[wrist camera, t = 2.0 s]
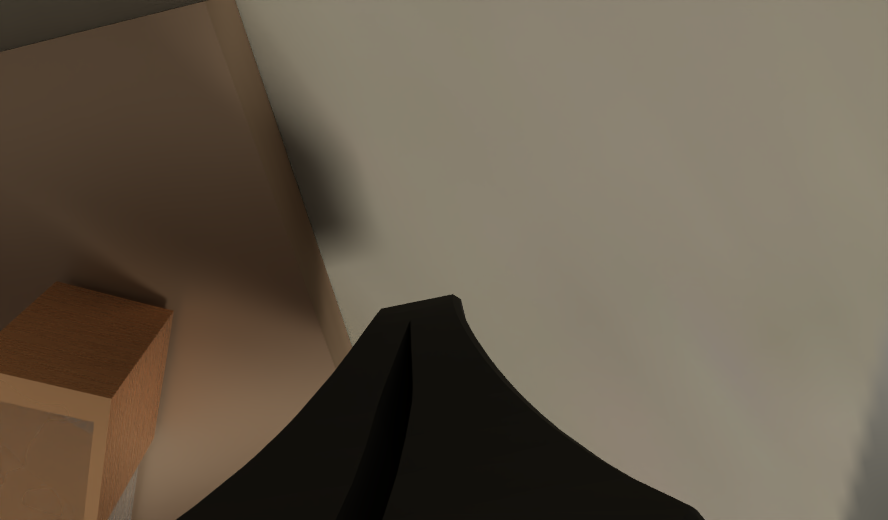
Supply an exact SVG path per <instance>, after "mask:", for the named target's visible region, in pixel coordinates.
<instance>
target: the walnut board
mask: <svg viewBox="0 0 888 520" xmlns="http://www.w3.org/2000/svg"><path fill="white" fill-rule="evenodd" d="M56 281H58V282H62V283H66V284H70V285H74V286H78V287H82V288H86V289H90V290H94V291H98V292H102V293H106V294H110V295H114V296H118V297H122V298H126V299H130V300H134V301H138V302H142V303H146V304H150V305H154V306H158V307H162V308H166V309H170V310H174V314H173V320H172V326H171V333H170V339H169V345H168V352H167V358H166V364H165V371H164V377H163V384H162V390H161V396H160V403H159V409H158V415H157V422H156V428H155V434H154V439H153V441H152V442H151V444H150V446H149V448H148V449H147V451H146V453H145V455H144V457H143V458H142V460H141V462H140V464H139V469H138V476H137V482H136V489H135V496H134V503H133V509H132V516H131V520H176V519H177V518H179V517H180V516H182V515H183V514H184V513H186V512H187V511H188V510H190V509H191V508H192V507H194V506H195V505H196V504H198V503H199V502H200V501H201V500H202V499H204V498H205V497H206V496H207V495H209V494H210V493H211V492H212V491H214V490H215V489H216V488H217V487H219V486H220V485H221V484H222V483H223V482H225V481H226V480H227V479H228V478H230V477H231V476H232V475H233V474H235V473H236V472H237V471H238V470H240V469H241V468H242V467H243V466H244V465H245V464H247V463H248V462H249V461H250V460H251V459H252V458H253V457H254V456H256V455H257V454H258V453H259V452H260V451H261V450H262V449H263V448H264V447H265V446H266V445H267V444H268V443H269V442H270V441H271V440H273V439H274V438H275V437H276V436H277V435H278V434H279V433H280V432H281V431H282V430H283V429H284V428H285V427H286V426H287V425H288V424H289V423H290V422H291V420H292V419H293V418H294V417H295V416H296V415H297V414H298V413H299V412H300V411H301V409H302V408H303V407H304V406H305V405H306V404H307V403H308V401H309V400H310V399H311V398H312V397H313V396H314V394H315V393H316V392H317V391H318V390H319V389H320V387H321V386H322V385H323V384H324V383H325V382H326V380H327V379H328V378H329V377H330V376H331V375H332V373H333V372H334V371H335V369H336V368H337V367H338V366H339V364H340V363H341V362H342V360H343V359H344V358H345V356H346V355H347V354H348V352H349V351H350V350H351V349H352V345H351V342H350V339H349V336H348V333H347V331H346V328H345V325H344V322H343V319H342V316H341V313H340V310H339V307H338V304H337V301H336V298H335V295H334V292H333V289H332V286H331V283H330V280H329V277H328V274H327V271H326V268H325V265H324V262H323V259H322V257H321V254H320V251H319V248H318V245H317V242H316V239H315V236H314V233H313V230H312V227H311V224H310V221H309V218H308V215H307V212H306V209H305V206H304V203H303V200H302V197H301V194H300V191H299V188H298V185H297V183H296V180H295V177H294V174H293V171H292V168H291V165H290V162H289V159H288V156H287V153H286V150H285V147H284V144H283V141H282V138H281V135H280V132H279V129H278V126H277V123H276V120H275V117H274V114H273V111H272V108H271V106H270V103H269V100H268V97H267V94H266V91H265V88H264V85H263V82H262V79H261V76H260V73H259V70H258V67H257V64H256V61H255V58H254V55H253V52H252V49H251V46H250V43H249V40H248V37H247V34H246V32H245V29H244V26H243V23H242V20H241V17H240V14H239V11H238V8H237V5H236V2H235V0H207V1H203V2H199V3H195V4H191V5H187V6H183V7H179V8H175V9H171V10H167V11H163V12H159V13H154V14H150V15H146V16H142V17H138V18H134V19H130V20H126V21H122V22H118V23H114V24H110V25H106V26H102V27H98V28H94V29H90V30H86V31H82V32H78V33H74V34H70V35H66V36H62V37H58V38H54V39H50V40H46V41H42V42H38V43H34V44H30V45H26V46H22V47H18V48H14V49H10V50H6V51H2V52H0V331H1V330H2V329H4V328H5V327H6V326H7V325H8V324H9V323H10V322H11V321H13V320H14V319H15V318H16V317H17V316H18V315H19V314H20V313H21V312H23V311H24V310H25V309H26V308H27V307H28V306H29V305H30V304H32V303H33V302H34V301H35V300H36V299H37V298H38V297H39V296H40V295H42V294H43V293H44V292H45V291H46V290H47V289H48V288H49V287H50V286H52V285H53V284H54V283H55V282H56Z"/></svg>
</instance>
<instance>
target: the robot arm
mask: <svg viewBox="0 0 888 520" xmlns="http://www.w3.org/2000/svg"><path fill="white" fill-rule="evenodd" d="M176 520H705V519H704V518H703V517H702V516H701V515H700V513H699V512H698V511H697V510H696V509H695V508H693V507H691V506H690V505H688V504H685V503H683V502H681V501H679V500H677V499H675V498H673V497H671V496H669V495H667V494H665V493H662V492H660V491H658V490H656V489H654V488H652V487H650V486H648V485H646V484H644V483H642V482H639V481H637V480H635V479H633V478H631V477H630V476H628V475H626V474H625V473H623V472H621V471H620V470H618V469H616V468H615V467H613V466H611V465H610V464H608V463H606V462H605V461H603V460H602V459H600V458H599V457H597V456H596V455H595V454H593V453H592V452H590V451H589V450H588V449H586V448H585V447H583V446H582V445H580V444H579V443H578V442H576V441H575V440H573V439H572V438H571V437H569V436H568V435H566V434H565V433H564V432H562V431H561V430H560V429H558V428H557V427H556V426H555V425H554V424H553V423H551V422H550V421H549V420H548V419H547V418H546V417H544V416H543V415H542V414H541V413H540V412H539V411H538V410H537V409H535V408H534V407H533V406H532V405H531V404H530V403H529V402H528V401H527V400H526V399H525V398H524V397H523V396H522V395H521V394H520V393H519V392H518V391H517V390H516V389H515V388H514V387H513V385H512V384H511V383H510V382H509V381H508V380H507V379H506V378H505V376H504V375H503V374H502V373H501V372H500V370H499V369H498V368H497V367H496V366H495V364H494V363H493V362H492V360H491V359H490V358H489V356H488V355H487V353H486V352H485V351H484V349H483V348H482V346H481V345H480V343H479V342H478V340H477V339H476V337H475V336H474V334H473V332H472V331H471V329H470V327H469V325H468V323H467V321H466V318H465V314H464V310H463V306H462V302H461V299H460V298H458V297H456V296H455V295H453V294H452V295H447V296H442V297H437V298H432V299H427V300H422V301H417V302H412V303H407V304H402V305H398V306H393V307H388V308H383V309H381V310H380V311H379V312H378V313H377V315H376V316H375V317H374V319H373V320H372V321H371V323H370V324H369V325H368V327H367V328H366V330H365V331H364V332H363V334H362V335H361V336H360V338H359V339H358V341H357V342H356V343H355V345H354V346H353V347H352V349H351V350H350V351H349V352H348V354H347V355H346V356H345V358H344V359H343V360H342V362H341V363H340V364H339V366H338V367H337V368H336V369H335V371H334V372H333V373H332V375H331V376H330V377H329V378H328V379H327V380H326V382H325V383H324V384H323V385H322V386H321V387H320V389H319V390H318V391H317V392H316V393H315V394H314V396H313V397H312V398H311V399H310V400H309V401H308V403H307V404H306V405H305V406H304V407H303V408H302V409H301V411H300V412H299V413H298V414H297V415H296V416H295V417H294V418H293V419H292V420H291V422H290V423H289V424H288V425H287V426H286V427H285V428H284V429H283V430H282V431H281V432H280V433H279V434H278V435H277V436H276V437H275V438H274V439H273V440H271V441H270V442H269V443H268V444H267V445H266V446H265V447H264V448H263V449H262V450H261V451H260V452H259V453H258V454H257V455H256V456H254V457H253V458H252V459H251V460H250V461H249V462H248V463H247V464H245V465H244V466H243V467H242V468H241V469H240V470H238V471H237V472H236V473H235V474H233V475H232V476H231V477H230V478H228V479H227V480H226V481H225V482H223V483H222V484H221V485H220V486H219V487H217V488H216V489H215V490H214V491H212V492H211V493H210V494H209V495H207V496H206V497H205V498H204V499H202V500H201V501H200V502H199V503H198V504H196V505H195V506H194V507H192V508H191V509H190V510H188V511H187V512H186V513H184V514H183V515H182V516H180V517H179V518H177V519H176Z"/></svg>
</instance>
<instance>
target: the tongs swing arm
mask: <svg viewBox="0 0 888 520" xmlns="http://www.w3.org/2000/svg"><path fill="white" fill-rule="evenodd" d="M173 314H174V310H170V309H166V308H162V307H158V306H154V305H150V304H146V303H142V302H138V301H134V300H130V299H126V298H122V297H118V296H114V295H110V294H106V293H102V292H98V291H94V290H90V289H86V288H82V287H78V286H74V285H70V284H66V283H62V282H58V281H56V282H55V283H54V284H53V285H52V286H50V287H49V288H48V289H47V290H46V291H45V292H44V293H43V294H42V295H40V296H39V297H38V298H37V299H36V300H35V301H34V302H33V303H32V304H30V305H29V306H28V307H27V308H26V309H25V310H24V311H23V312H21V313H20V314H19V315H18V316H17V317H16V318H15V319H14V320H13V321H11V322H10V323H9V324H8V325H7V326H6V327H5V328H4V329H2V330H1V331H0V520H131V516H132V509H133V503H134V496H135V489H136V482H137V476H138V469H139V464H140V462H141V460H142V458H143V457H144V455H145V453H146V451H147V449H148V448H149V446H150V444H151V442H152V441H153V439H154V434H155V428H156V422H157V415H158V409H159V403H160V396H161V390H162V384H163V377H164V371H165V364H166V358H167V352H168V345H169V339H170V333H171V326H172V320H173Z"/></svg>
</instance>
